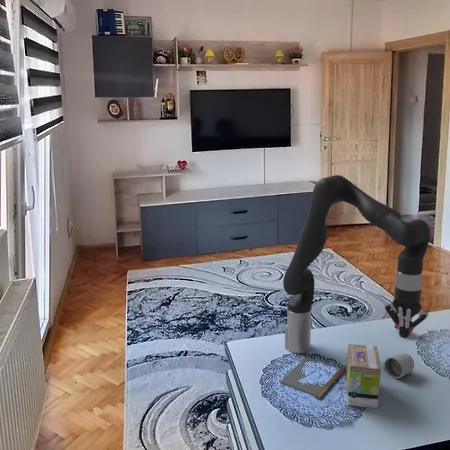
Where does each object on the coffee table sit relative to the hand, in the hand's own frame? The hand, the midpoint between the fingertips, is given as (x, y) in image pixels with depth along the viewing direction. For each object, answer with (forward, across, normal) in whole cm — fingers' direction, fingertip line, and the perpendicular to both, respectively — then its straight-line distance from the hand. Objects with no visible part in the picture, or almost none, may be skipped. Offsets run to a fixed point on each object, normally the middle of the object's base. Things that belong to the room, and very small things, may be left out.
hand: (404, 336), depth 153 cm
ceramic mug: (+25, -7, +19) cm, 33 cm away
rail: (+25, -24, 0) cm, 34 cm away
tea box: (+25, -12, 0) cm, 28 cm away
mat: (+25, -32, 0) cm, 40 cm away
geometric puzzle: (+25, -14, +49) cm, 57 cm away
